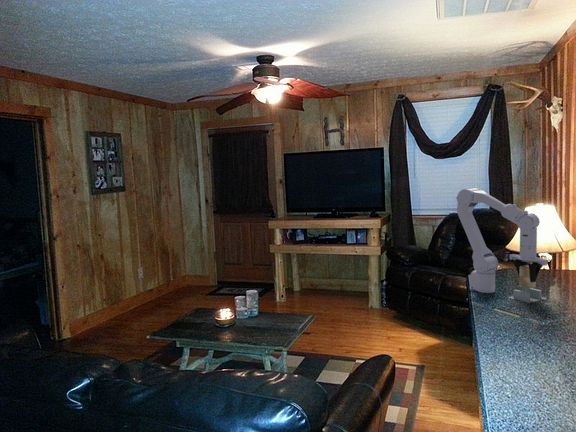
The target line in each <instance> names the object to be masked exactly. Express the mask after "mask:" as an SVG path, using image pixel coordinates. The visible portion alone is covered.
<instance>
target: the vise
mask: <svg viewBox="0 0 576 432" xmlns="http://www.w3.org/2000/svg"><path fill="white" fill-rule="evenodd" d="M512 291H513V295H512V296H507V298H509V299H511V300H514V301H515V300H517V301H519V302H524V303H527V304H530V303H535V302H538V301H543V300H546V299H548V298H547V297H543V296H542V294H543V293H542V290H541V289H537V288H530V289H527V288H524V290H519V289H513V290H512Z"/></svg>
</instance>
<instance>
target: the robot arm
mask: <svg viewBox="0 0 576 432" xmlns="http://www.w3.org/2000/svg"><path fill="white" fill-rule="evenodd" d="M455 199H456V201H457V210H456V213H457V215H458V218H459V220H460V223H461V226H462V228H463V229H464V232H465V234H466V236H467V240H468V242H469V244H470V247H471V249H472V251H473V252H472V256H471V259H472V262H473V263H472V265H473V269H474V270H472V271H471V272H470V276H469V291H472V290H473V291H475V292H479V293H485V294H486V293H487V294H492V293H495V292H496V269H497V268H498V265H499V260H498V258H497V257H496V256H495V254H494V253H493V252H492V250H491V249H489V248H488V247H487V244H486V242H485V240H484V238H483V235H482V233H481V231H480V228H479V225H478V223H477V221H476V219H475V217H474V214H473V211H474V209H475V207H476V206H477V205H478V204H484V205H486V206H488V207H490V208H492V209H494V210H497V211H499V212H500V214H501V216H502V217H503V218H505V219H506V220H509V221H510V222H511V223H513V224H515V225H517V227H518V229H519V254H516V253H512V254H509V260H510V261H512V260H513V266H514V267H515V269H516V271H517V274H518V276H519V274H520V266H524V265H528V266H529V270H530V282H536V283H537V278H538V275H539V273H540V271H541V269H542V268H543V267H544V266H548V262H549V261H548V259H544V258H541V257H537V249H538V248H537V247H538V244H537V243H538V241H537V240H538V229H537V228H538V227H539V225H540V223H541V222H540V219H539V217H538V215H536V214H535V213H529V211H527V210H523V209H521V208H519V207H517V204H515V203H513V204H512V203H507V204H505V203H503V202H502V201H500V200H499V199H497V198H496V197H494V196H492V195H490V194H489V193H487V192H486V191H485V190H482V189H480V188H477V187H473V188H463V189H461V190H459V192H458V194H457V196H456V198H455Z"/></svg>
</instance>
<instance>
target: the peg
mask: <svg viewBox="0 0 576 432" xmlns="http://www.w3.org/2000/svg"><path fill="white" fill-rule="evenodd" d="M518 278H519V281H518V282H519V284H518V287H520V288H523V289H525V288H527V289H530V288H533V289H536V284H537V281H536V282H530V270H529V266H528V264H527V265H524V266H520V274H519V275H518Z"/></svg>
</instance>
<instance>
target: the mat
mask: <svg viewBox="0 0 576 432" xmlns="http://www.w3.org/2000/svg"><path fill="white" fill-rule="evenodd" d="M493 311H494V312H497V313H501V314H503V315H508V316H511V317H515V318H517V319H519V318H523V317H526V315H524V314H519V313H515V312H512V311H509V310H506V309H501V308H494V309H493Z"/></svg>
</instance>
